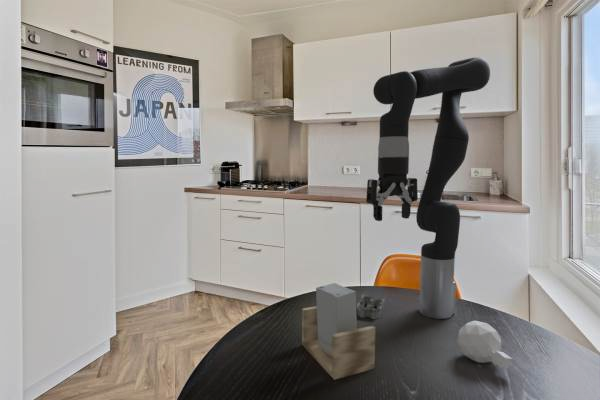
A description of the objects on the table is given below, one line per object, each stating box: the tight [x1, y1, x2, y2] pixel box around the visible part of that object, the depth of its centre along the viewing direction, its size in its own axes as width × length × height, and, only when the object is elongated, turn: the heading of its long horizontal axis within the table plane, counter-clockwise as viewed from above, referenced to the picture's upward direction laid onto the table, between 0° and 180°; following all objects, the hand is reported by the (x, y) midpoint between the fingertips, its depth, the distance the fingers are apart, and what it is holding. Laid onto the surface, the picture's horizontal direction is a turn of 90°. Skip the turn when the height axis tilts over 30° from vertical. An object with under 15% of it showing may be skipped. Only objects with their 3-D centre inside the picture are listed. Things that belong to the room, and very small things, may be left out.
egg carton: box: [356, 293, 386, 320], centre depth 110 cm, size 10×7×4 cm
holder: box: [301, 305, 376, 381], centre depth 85 cm, size 10×16×9 cm, turn 24°
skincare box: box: [315, 282, 358, 356], centre depth 84 cm, size 8×6×15 cm
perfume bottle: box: [457, 320, 513, 369], centre depth 82 cm, size 9×9×12 cm
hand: (392, 219), depth 94 cm, fingers open, 8 cm apart
